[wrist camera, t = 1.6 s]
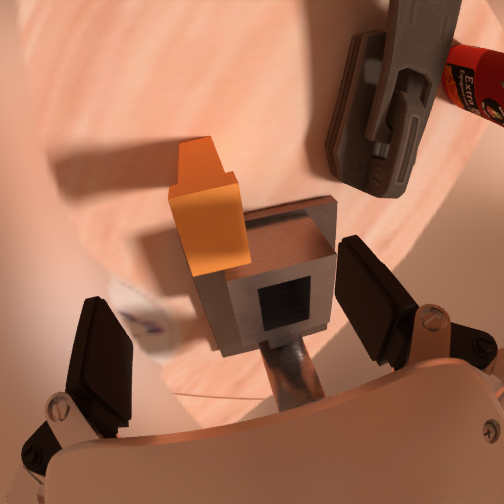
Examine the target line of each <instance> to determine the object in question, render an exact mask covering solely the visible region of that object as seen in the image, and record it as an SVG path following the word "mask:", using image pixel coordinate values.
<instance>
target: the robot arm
mask: <svg viewBox="0 0 504 504" xmlns="http://www.w3.org/2000/svg"><path fill="white" fill-rule="evenodd" d="M335 297H336V299H337V301H338V303H339V304H340V306H341V308H342V309H343V311H344V313H345V314H346V316H347V318H348V319H349V321H350V323H351V325H352V326H353V328H354V330H355V331H356V333H357V335H358V337H359V338H360V340H361V342H362V344H363V346H364V347H365V349H366V351H367V352H368V354H369V356H370V358H371V359H372V360H373V361H377V363H378V365H379V366H381V365H384V364H386V363H388V362H389V364H390V366H391V367H392V372H391V373H390V374H387V375H385V376H383V377H380V378H378V379H375V380H373V381H370V382H368V383H365V384H363V385H360V386H358V387H355V388H352V389H350V390H347V391H345V392H342V393H339V394H336V395H334V396H331V397H328V398H325V399H322V400H319V401H316V402H313V403H310V404H306V405H303V406H300V407H297V408H293V409H290V410H286V411H283V412H279V413H275V414H272V415H268V416H264V417H260V418H256V419H251V420H247V421H242V422H238V423H233V424H228V425H223V426H218V427H212V428H206V429H200V430H194V431H187V432H179V433H171V434H163V435H152V436H140V437H127V438H121V437H120V436H119V434H118V428H120V427H129V422H128V420H131V415H132V409H131V408H132V400H131V399H132V361H133V344H132V341H131V339H130V338H129V336H128V335H127V333H126V332H125V330H124V329H123V327H122V326H121V324H120V323H119V321H118V320H117V318H116V317H115V315H114V313H113V312H112V310H111V309H110V307H109V306H108V304H107V302H106V301H105V300H104V299H101V298H100V297H99V296H96V297H92V298H87V299H85V301H84V304H83V308H82V311H81V315H80V319H79V323H78V327H77V331H76V336H75V340H74V344H73V349H72V354H71V359H70V364H69V369H68V375H67V381H66V389H65V392H58V393H55V394H53V395H52V396H51V397H50V398H49V399H48V401H47V403H46V405H45V417H46V421H45V422H44V423H43V424H42V425H41V426H40V428H38V429H37V431H36V432H35V433H34V434H33V435H32V436H31V437H30V438H29V439H28V440H27V441H26V442H25V444H24V446H23V448H22V453H21V457H22V461H23V465H21V464H20V465H19V467H18V469H17V472H16V474H15V476H14V479H13V481H12V483H11V486H10V488H9V491H8V494H7V502H8V504H504V348H502V347H501V348H500V349H498V348H497V344H496V342H495V340H494V338H493V337H492V336H491V335H490V334H488V333H486V332H484V331H480V330H477V329H473V328H470V327H466V326H462V325H459V324H455V323H452V322H451V321H450V317H449V315H448V313H447V312H446V311H445V310H444V309H443V308H441V307H440V306H438V305H435V304H425V305H423V306H421V307H419V306H418V305H417V303H416V302H415V301H414V300H413V298H412V297H411V296H410V294H409V293H408V292H407V291H406V289H405V288H404V287H403V286H402V285H401V283H400V282H399V281H398V280H397V278H396V277H395V276H394V275H393V274H392V272H391V271H390V270H389V269H388V268H387V267H386V265H385V264H383V263H382V262H381V261H380V260H379V259H378V258H377V257H376V256H375V254H374V253H373V252H372V251H371V250H370V249H369V248H368V246H367V245H366V244H365V243H364V242H363V241H362V240H361V239H360V237H359V236H357V235H353V236H349V237H345V238H343V239H342V242H340V243H339V244H338V256H337V270H336V281H335Z"/></svg>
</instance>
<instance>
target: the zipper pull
mask: <svg viewBox="0 0 504 504" xmlns="http://www.w3.org/2000/svg"><path fill="white" fill-rule="evenodd" d="M461 2H462V0H390V3H389V14H388V24H387V30H375V31H370V32H366V33H362V34H357V35H354V36H353V37H352V39H351V43H350V48H349V52H348V57H347V61H346V65H345V70H344V74H343V78H342V82H341V86H340V90H339V94H338V98H337V102H336V106H335V110H334V114H333V118H332V121H331V125H330V128H329V132H328V135H327V139H326V142H325V148H326V153H327V157H328V162H329V167H330V172H331V173H332V174H333V175H334V176H335V177H337V178H338V179H339V180H340V181H341V182H343V183H345V184H347V185H350V186H352V187H354V188H356V189H358V190H361V191H363V192H365V193H368V194H370V195H372V196H374V197H377V198H399V197H400V196H401V195H402V194H404V193H405V190H406V187H407V184H408V181H409V178H410V175H411V171H412V168H413V166H414V164H415V161H416V155H417V150H418V146H419V143H420V141H421V138H422V135H423V132H424V129H425V127H426V124H427V121H428V118H429V115H430V112H431V109H432V106H433V102H434V99H435V96H436V93H437V89H438V86H439V82H440V79H441V76H442V73H443V70H444V67H445V64H446V60H447V57H448V54H449V50H450V47H451V43H452V40H453V36H454V32H455V28H456V24H457V20H458V16H459V11H460V7H461Z"/></svg>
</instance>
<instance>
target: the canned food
mask: <svg viewBox="0 0 504 504" xmlns="http://www.w3.org/2000/svg"><path fill="white" fill-rule="evenodd" d="M442 82H443V86H444V89H445V92H446V94H447V96H448V97H449V99H450V100H451V101H452V102H453V103H454V104H456V105H457V106H458V107H460V108H462V109H464V110H466V111H469V112H471V113H474V114H476V115H478V116H481V117H483V118H485V119H487V120H490V121H492V122H494V123H496V124H498V125H500V126H502V127H504V53H502V52H498V51H494V50H489V49H485V48H480V47H475V46H469V45H463V44H462V45H457V46H453V47H451V48H450V50H449V54H448V57H447V60H446V64H445V67H444V70H443V73H442Z"/></svg>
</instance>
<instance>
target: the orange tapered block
mask: <svg viewBox="0 0 504 504" xmlns="http://www.w3.org/2000/svg"><path fill="white" fill-rule="evenodd" d="M168 201H169V204H170V207H171V211H172V214H173V217H174V221H175V224H176V227H177V230H178V233H179V236H180V239H181V243H182V246H183V249H184V252H185V255H186V258H187V261H188V264H189V267H190V270H191V272H192V275H193V277H194V276H199V275H203V274H207V273H211V272H216V271H220V270H224V269H228V268H232V267H237V266H241V265H245V264H249V263H251V258H250V252H249V246H248V239H247V233H246V227H245V221H244V215H243V208H242V202H241V196H240V190H239V184H238V181H237V179H236V177H235V175H234V172H233V171H232V172H227V173H225V172H224V169H223V166H222V164H221V161H220V159H219V156H218V154H217V151H216V148H215V146H214V143H213V141H212V138H211V136H209V137H204V138H199V139H195V140H191V141H186V142H182V143H179V159H178V184H176V185H172V186H169V194H168Z"/></svg>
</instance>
